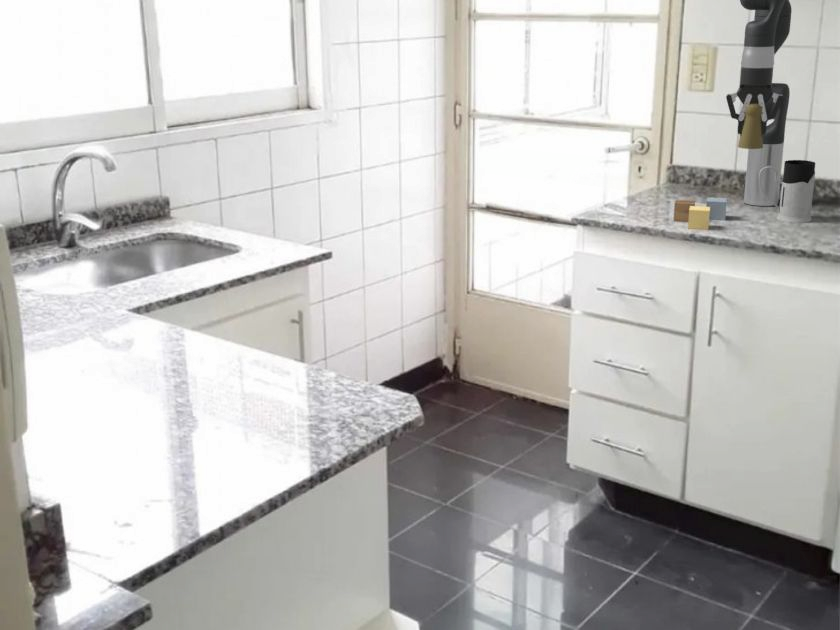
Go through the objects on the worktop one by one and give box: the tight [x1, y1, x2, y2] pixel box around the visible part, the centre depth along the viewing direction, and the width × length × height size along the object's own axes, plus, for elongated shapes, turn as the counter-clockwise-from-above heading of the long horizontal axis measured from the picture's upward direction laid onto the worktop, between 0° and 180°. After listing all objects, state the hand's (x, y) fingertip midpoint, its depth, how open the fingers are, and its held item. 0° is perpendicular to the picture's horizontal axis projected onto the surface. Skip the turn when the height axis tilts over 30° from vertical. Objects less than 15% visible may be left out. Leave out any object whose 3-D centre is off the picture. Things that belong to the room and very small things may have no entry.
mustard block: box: [687, 205, 710, 231], centre depth 255 cm, size 5×5×5 cm
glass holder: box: [759, 159, 816, 224], centre depth 261 cm, size 9×14×15 cm, turn 77°
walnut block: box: [673, 198, 696, 223], centre depth 264 cm, size 5×5×5 cm
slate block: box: [705, 197, 728, 221], centre depth 265 cm, size 5×5×5 cm
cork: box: [737, 103, 763, 150], centre depth 248 cm, size 6×6×11 cm
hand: (751, 135), depth 248 cm, fingers closed on cork, 4 cm apart
